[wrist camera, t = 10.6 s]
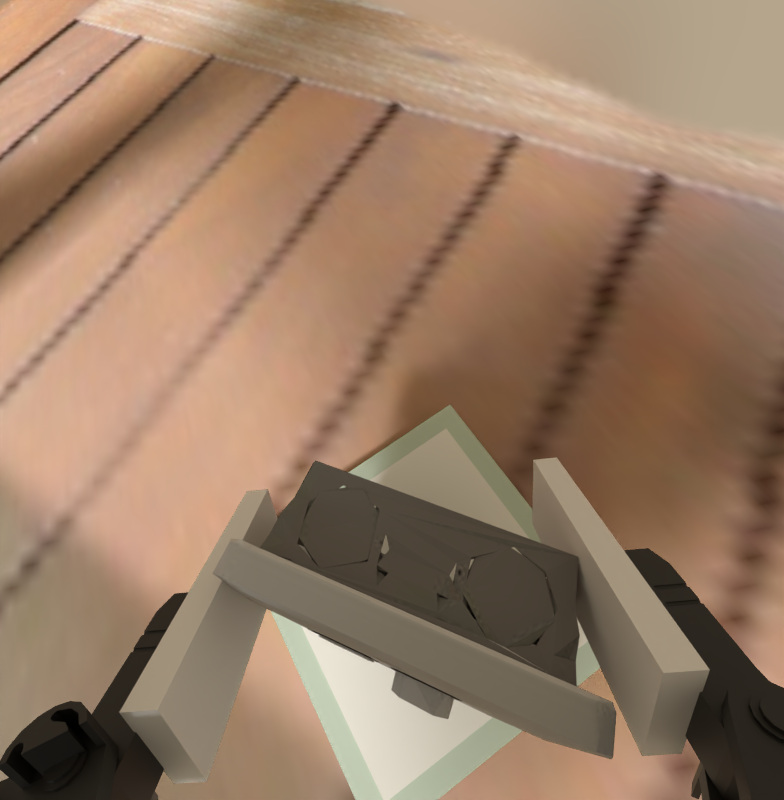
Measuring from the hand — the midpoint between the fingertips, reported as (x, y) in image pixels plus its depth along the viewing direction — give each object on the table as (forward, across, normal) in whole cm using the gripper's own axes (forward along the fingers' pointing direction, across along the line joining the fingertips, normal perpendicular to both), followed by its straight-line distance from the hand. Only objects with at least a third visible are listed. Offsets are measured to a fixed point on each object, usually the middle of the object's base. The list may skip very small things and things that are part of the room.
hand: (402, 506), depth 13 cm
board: (+3, 0, -7) cm, 8 cm away
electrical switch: (+1, 0, -6) cm, 6 cm away
